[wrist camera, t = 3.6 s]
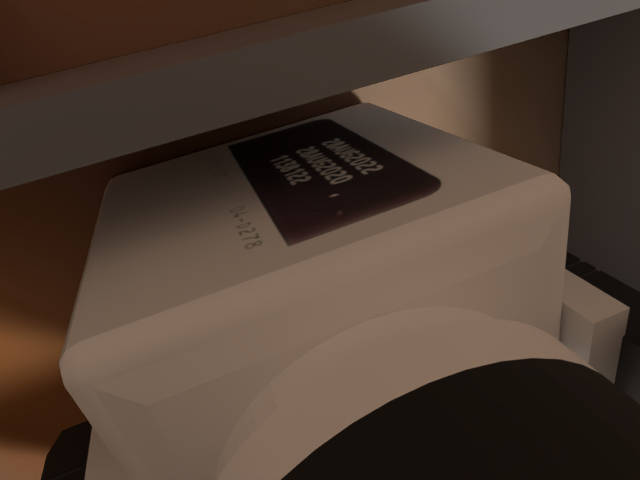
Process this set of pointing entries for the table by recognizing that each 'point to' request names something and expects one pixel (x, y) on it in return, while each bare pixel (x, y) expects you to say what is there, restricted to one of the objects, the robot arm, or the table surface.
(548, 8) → the bay
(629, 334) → the robot arm
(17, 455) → the table surface
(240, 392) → the container
